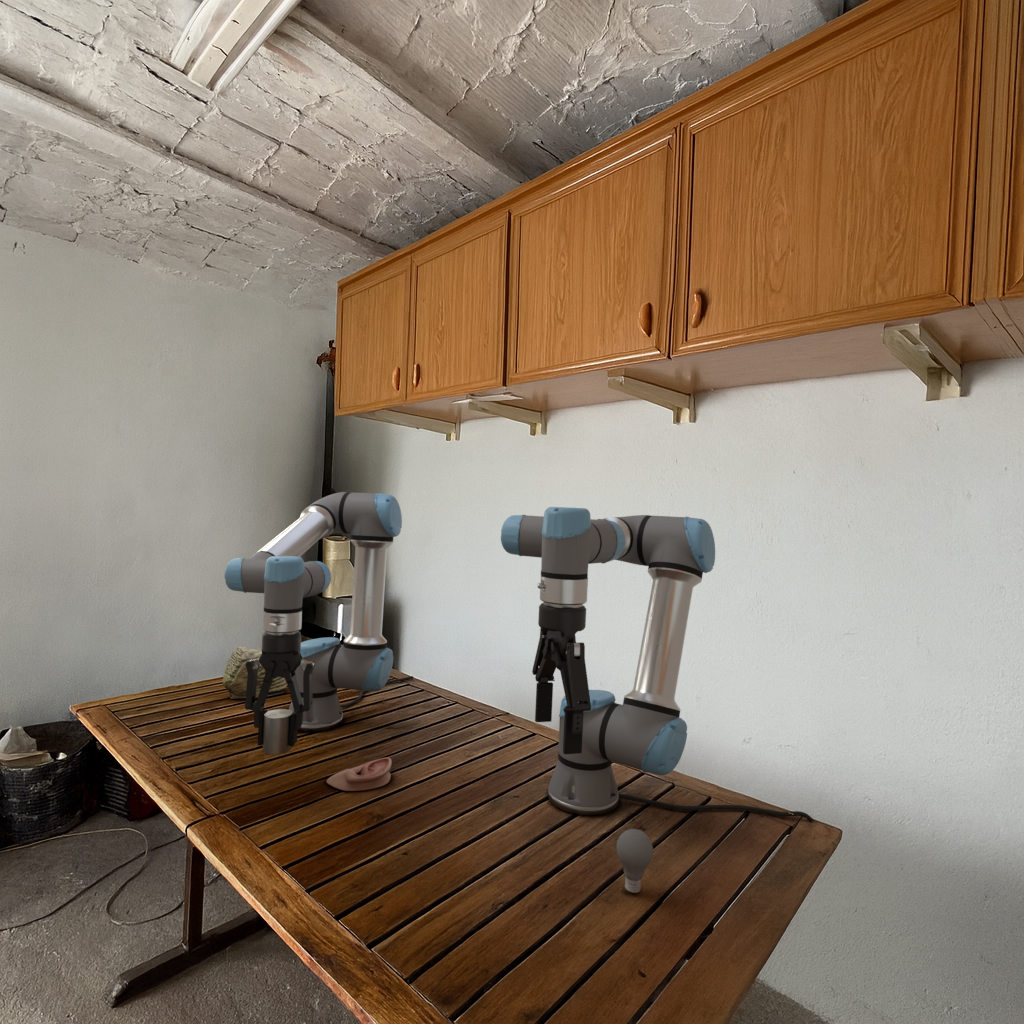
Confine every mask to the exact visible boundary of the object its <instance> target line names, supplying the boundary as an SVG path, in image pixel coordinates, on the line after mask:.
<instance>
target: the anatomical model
mask: <svg viewBox="0 0 1024 1024" xmlns="http://www.w3.org/2000/svg"><path fill="white" fill-rule="evenodd" d="M392 765H393V761H392V758H391V757H388V756H387V757H381V758H377V759H374V760H371V761H368V762H364V763H362V764H360V765H358V766H354V767H351V768H346V769H343V770H341V771H338V772H337V773H335V774H333V775H331V776H330V777H329V778H327V780H326V784H327V785H329V786H331V787H333V788H335V789H337V790H340V791H344V792H355V791H356V792H357V791H358V792H359V791H367V790H372V789H377V788H380V787H383V786H385V785H387V784H388V783H389V782H390V781H391V777H392V775H391V772H390V771H391V769H392Z"/></svg>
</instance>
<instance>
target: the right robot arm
mask: <svg viewBox="0 0 1024 1024" xmlns="http://www.w3.org/2000/svg"><path fill="white" fill-rule="evenodd" d="M500 531H501V532H500V543H501V546H502V549H504V551H505V552H506V553H508V554H510V555H515V556H519V557H529V558H541V563H540V564H541V566H540V567H541V568H540V569H541V570H540V582H538V583H537V589H539V600H540V601H541V603H540V604H539V606H538V621H537V623H538V624H537V625H538V626H539V628H540V629H539V640H538V644H537V648H536V652H535V657H534V661H533V666H532V670H531V672H532V675H533V676H535V677H534V679H535V682H536V689H535V690H536V692H535V714H534V722H535V723H549V722H551V723H552V719H553V718H552V716H553V715H552V714H553V695H554V683H553V682H555V681H556V680H555V676H554V674H555V672H556V669H557V670H558V671H560V678H561V682H562V687H563V692H564V696H563V697H562V699H561V700H560V707H559V708H560V709H559V714H558V718H559V720H558V721H559V722H558V723H559V724H558V752H557V753H558V755H557V762H556V764H555V768H554V770H553V773H552V776H551V778H550V781H549V782H548V783H549V784H548V788H547V798H548V800H549V802H550V803H551V804H552V805H553V806H555V807H556V808H558V809H560V810H562V811H564V812H567V813H570V814H574V815H581V816H599V815H604V814H608V813H610V812H613V810H616V809H617V807H618V806H619V799H622V800H627V801H631V802H637V803H642V804H647V805H651V806H657V807H661V808H666V809H672V810H679V811H688V812H691V811H693V812H694V811H709V810H711V811H712V810H736V811H737V810H739V811H750V812H755V813H761V814H765V815H771V816H775V817H776V816H777V817H802V818H804V819H806V818H807V819H806V820H807V821H808V822H811V823H813V822H812V821H814V822H815V820H814V818H812V816H811V815H809V814H808V813H806V812H803V811H799V810H795V811H794V810H793V811H778V810H773V809H768V808H764V807H763V808H762V807H756V806H751V805H750V806H749V805H741V804H740V805H739V804H704V805H703V804H702V805H681V804H673V803H668V802H665V801H664V802H663V801H658V800H654V799H648V798H645V797H644V798H643V797H638V796H634V795H628V794H622V793H620V792H619V789H618V786H617V781H616V778H615V774H614V770H613V765H612V762H613V763H616V764H619V765H623V766H626V767H629V768H631V769H635V770H639V771H642V773H648V774H649V773H650V774H654V775H657V776H666V775H669V774H671V772H672V771H674V770H675V768H676V767H677V765H678V764H679V763H680V760H681V759H682V756H683V753H684V751H685V748H686V744H687V740H688V739H687V738H688V725H687V723H686V721H685V720H684V719H683V718H682V717H680V715H681V708H680V706H679V705H678V703H677V701H676V698H675V697H676V692H677V688H678V687H677V686H678V682H679V681H678V680H679V675H680V668H681V663H682V658H683V657H682V656H683V651H684V645H685V638H686V637H685V636H686V631H687V626H688V621H689V614H690V609H691V602H692V596H693V591H694V587H696V586H697V585H699V584H701V583H702V580H703V574H707V573H710V572H712V571H713V569H714V566H715V563H716V543H715V536H714V533H713V530H712V527H711V525H710V524H709V523H708V522H707V520H705V519H703V518H697V517H690V516H671V515H670V516H668V515H667V516H666V515H650V514H637V515H627V516H626V515H625V516H617V517H616V516H608V517H603V518H597V519H592V518H591V512H590V510H589V509H588V508H586V507H568V506H567V507H566V506H565V507H564V506H548V507H547V508H546V509H545V510H544V513H543V515H540V516H539V515H526V514H513V515H510V516H508V517H507V518H506V519H505V520H504V521H503V524H502V526H501V529H500ZM613 561H619V562H623V563H628V564H632V565H637V566H645V567H647V573H648V575H649V576H650V578H651V579H652V583H651V590H650V595H649V600H648V605H647V611H646V615H645V616H646V618H645V623H644V626H643V627H644V628H643V634H642V640H641V645H640V650H639V656H638V659H637V667H636V672H635V676H634V682H633V688H632V689H631V690H630V691H629V692H628V693H626V694H625V695H624V697H623V700H622V701H623V702H622V704H620V703H616V696H615V694H614V693H612V692H611V691H608V690H603V689H602V690H601V689H590V687H589V680H588V673H587V665H586V664H587V663H586V646H585V645H586V644H585V642H577V639H576V634H577V633H578V632H582V631H584V630H585V628H586V627H587V626H586V625H587V622H586V621H587V608H586V606H585V605H584V604H586V603H587V602H588V592H589V591H588V590H589V589H588V587H589V575H588V574H589V565H593V564H606V563H609V562H613ZM788 812H790V813H793V814H796V815H792V814H789V813H788Z"/></svg>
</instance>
